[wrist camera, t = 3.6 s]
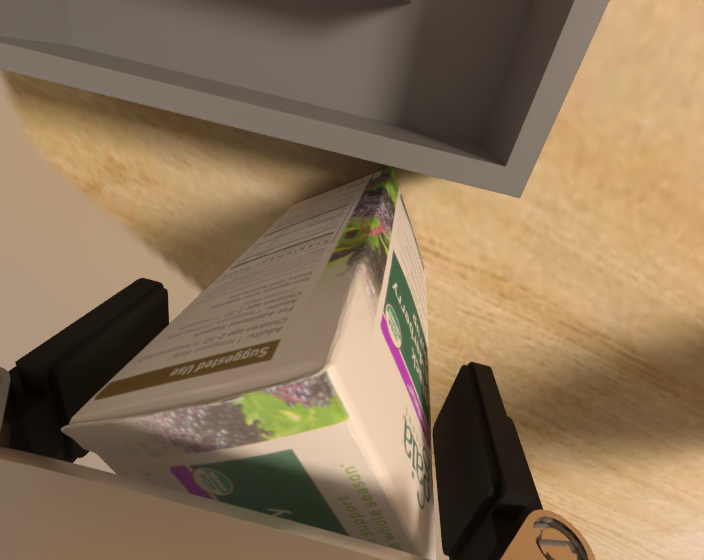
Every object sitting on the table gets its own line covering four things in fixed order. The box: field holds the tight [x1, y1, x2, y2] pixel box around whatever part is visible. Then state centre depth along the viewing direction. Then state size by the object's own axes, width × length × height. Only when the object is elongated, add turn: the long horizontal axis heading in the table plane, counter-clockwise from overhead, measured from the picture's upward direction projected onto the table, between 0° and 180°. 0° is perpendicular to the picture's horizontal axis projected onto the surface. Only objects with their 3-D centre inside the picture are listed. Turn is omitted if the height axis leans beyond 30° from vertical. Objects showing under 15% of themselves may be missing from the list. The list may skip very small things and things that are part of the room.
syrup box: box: [61, 167, 436, 560], centre depth 13 cm, size 6×6×14 cm
